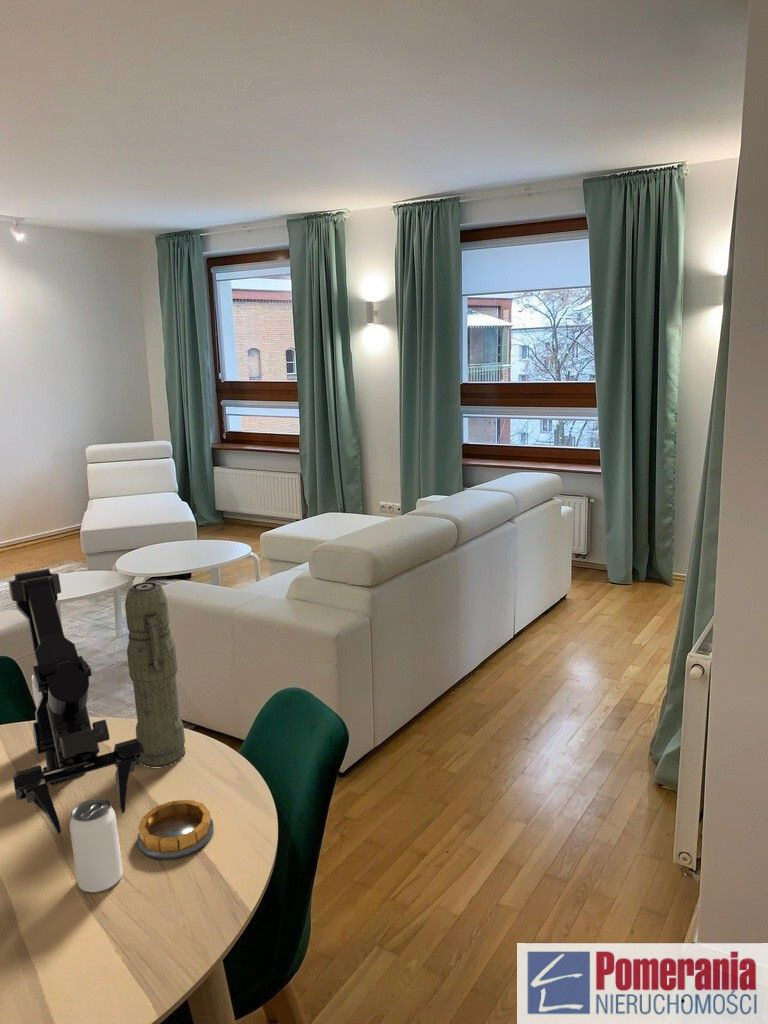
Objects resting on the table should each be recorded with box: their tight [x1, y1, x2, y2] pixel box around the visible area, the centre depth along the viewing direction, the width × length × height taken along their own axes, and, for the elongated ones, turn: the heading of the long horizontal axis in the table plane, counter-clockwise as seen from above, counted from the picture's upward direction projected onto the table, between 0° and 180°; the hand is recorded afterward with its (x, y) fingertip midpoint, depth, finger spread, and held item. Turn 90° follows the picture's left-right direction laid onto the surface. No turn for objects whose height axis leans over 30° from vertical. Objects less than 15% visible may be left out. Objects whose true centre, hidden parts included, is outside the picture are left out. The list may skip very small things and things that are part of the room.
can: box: [69, 797, 124, 894], centre depth 116 cm, size 6×6×12 cm
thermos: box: [124, 581, 186, 768], centre depth 148 cm, size 9×12×35 cm
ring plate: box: [137, 799, 214, 861], centre depth 127 cm, size 12×12×3 cm
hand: (92, 822), depth 117 cm, fingers open, 9 cm apart
